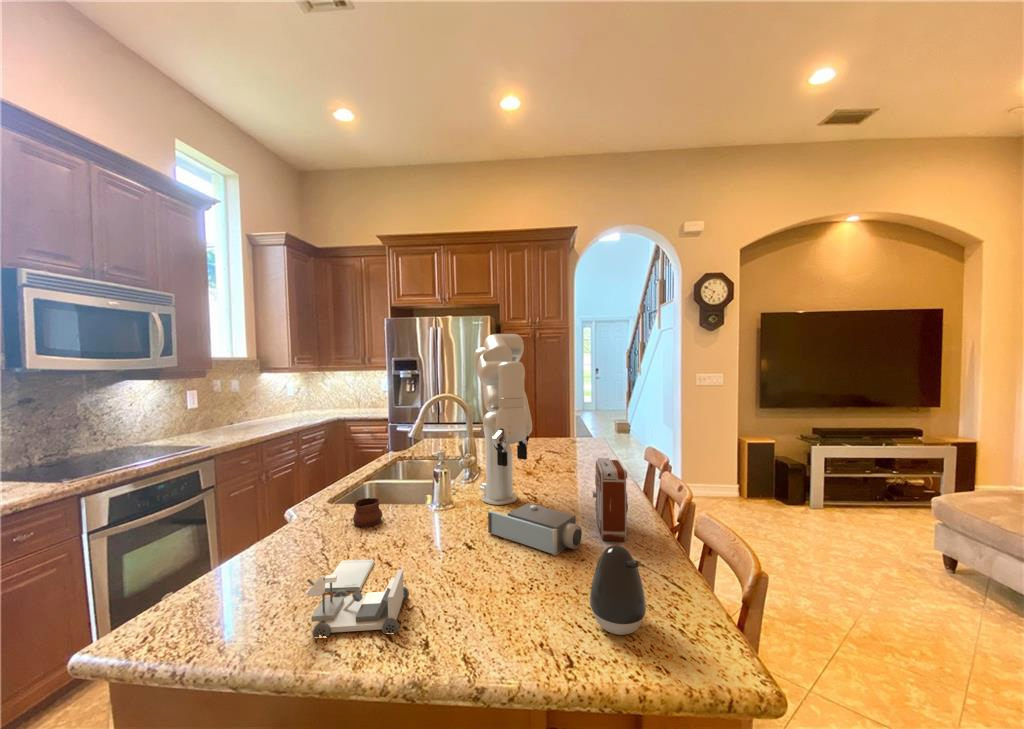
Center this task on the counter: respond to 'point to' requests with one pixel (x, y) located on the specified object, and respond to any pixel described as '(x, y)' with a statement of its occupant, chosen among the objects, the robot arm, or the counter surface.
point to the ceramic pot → (367, 512)
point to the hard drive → (350, 575)
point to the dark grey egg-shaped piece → (617, 592)
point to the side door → (523, 532)
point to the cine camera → (611, 499)
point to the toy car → (357, 607)
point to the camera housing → (552, 523)
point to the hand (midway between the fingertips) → (512, 462)
